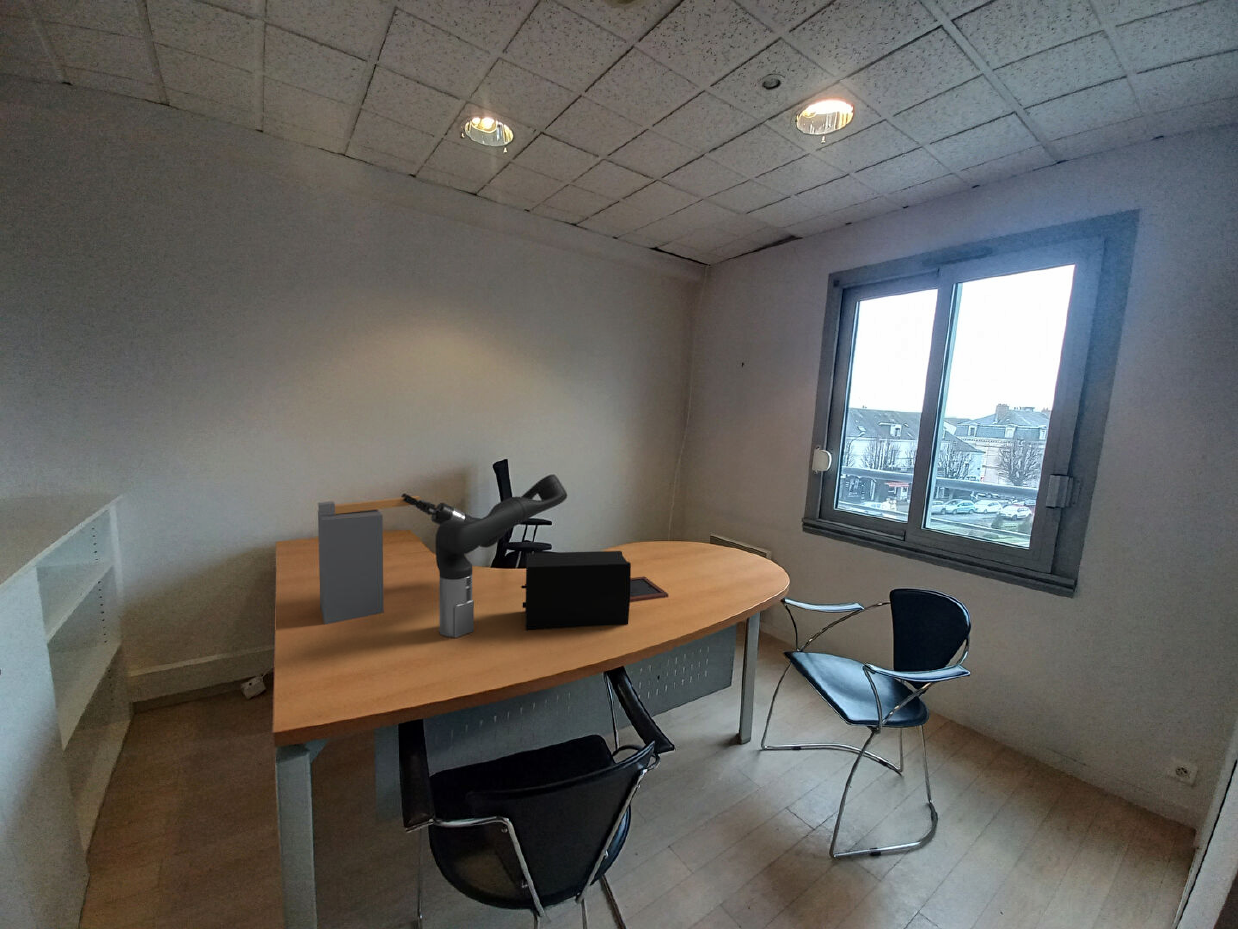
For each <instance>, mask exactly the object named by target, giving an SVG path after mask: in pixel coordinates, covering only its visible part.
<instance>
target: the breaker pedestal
mask: <svg viewBox="0 0 1238 929" xmlns="http://www.w3.org/2000/svg"><path fill="white" fill-rule="evenodd" d="M383 521H384V520H383V514H382V513H381V512H380V511H379V509H375V510H367V511H358V512H350V513H341V514H335V515H327V516H320V515H319V509H318V510H317V524H318V525H317V526H318V527H317V528H318V531H317V532H318V562H319V563H318V564H319V565H318V566H319V567H318V569H319V570H318V571H319V605H320V611H321V615H322V619H323V623H324V625H328V624H333V623H338V622H344V621H348V620H353V619H358V618H362V617H368V616H373V615H378V614H383V613H384V612H385V611H384V606H385V605H384V530H383V528H384V527H383V526H384V525H383V524H384V522H383Z"/></svg>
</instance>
